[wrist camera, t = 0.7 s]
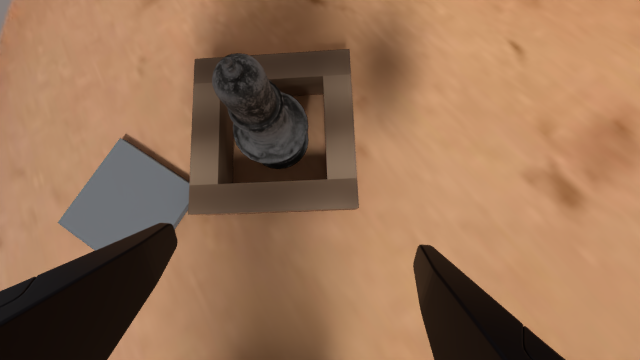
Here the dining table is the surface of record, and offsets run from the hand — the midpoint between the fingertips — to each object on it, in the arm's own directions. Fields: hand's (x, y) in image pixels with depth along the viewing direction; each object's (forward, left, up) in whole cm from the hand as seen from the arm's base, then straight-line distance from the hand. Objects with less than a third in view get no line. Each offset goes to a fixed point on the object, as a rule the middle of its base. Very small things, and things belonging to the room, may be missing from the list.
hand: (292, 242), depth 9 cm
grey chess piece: (+5, +7, -13) cm, 16 cm away
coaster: (-7, +15, -13) cm, 21 cm away
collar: (+5, +7, -13) cm, 15 cm away
